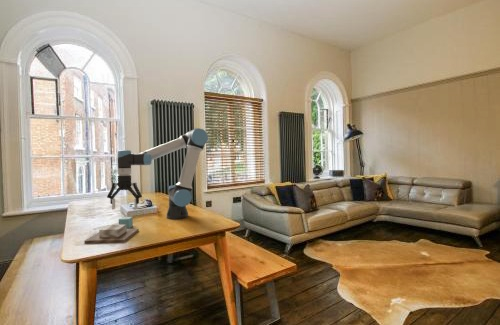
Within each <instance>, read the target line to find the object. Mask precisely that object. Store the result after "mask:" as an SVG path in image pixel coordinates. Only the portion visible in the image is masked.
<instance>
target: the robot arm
mask: <svg viewBox="0 0 500 325" xmlns="http://www.w3.org/2000/svg"><path fill="white" fill-rule="evenodd" d="M208 139H209V134H208V133H207V131H206V130H205V129H203V128H199V127H196V128H193V129H191V130H189V131H187V132H186V133H184V134H182V135H180V136H179V137H178V138H176V139H173V140H170V141H168V142H165V143H163V144H159V145H158V146H155V147H152V148H150V149H146V150H144V151H142V152H137V153H136V152H135V153H133V152H132V150H129V149H119V150H118V151H117V182H112V186H111V188H110V191H109V192H108V194H107V195H106V197H107V199H110V200H109V202H110V204H111V210H112V211H113V210H115V209H116V198H115V197H116V196H117V195H118V194H119V192H120V191H129V192H130V194H131V195H133V197H134V210H137V209H138V204H139V203H140V198H142V197H143V195H142V193H141V191H140V189H139V188H138V185H137V184H138V183H137V182H132V166H150V165H151V164H152V162H153V160H156V159H158V158H161V157H163V156H166V155H168V154H170V153H171V154H172V153H173V152H176V151H178V150H181V149H183V148H185V149H187V151H186V154H185V158H184V162H183V164H182V165H183V166H182V169H181V172H180V176H179V179H178V182H177V183H175V185H169V186H168V208H167V212H166V218H167V219H168V220H181V218H182V219H186V218H188V217H189V212H188V209H187V206H188V205H190V203H191V201H192V198H193V197H192V192H193V187H192V183H193V179H194V176H195V172H196V170H197V166H198V165H197V164H198V161H199V158H200V154H201V152H202V151H204V149H205V145H206V144H207V142H208ZM116 187H117V188H116ZM134 190H135V191H134ZM185 217H186V218H185Z"/></svg>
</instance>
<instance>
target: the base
mask: <svg viewBox="0 0 500 325" xmlns="http://www.w3.org/2000/svg"><path fill="white" fill-rule="evenodd" d="M138 232H140V230H139V228H129V229H126V224H123V225H119V224H107V225H106V226H104V227H102V228H100V229H99V232H97V233H96V234H93V235H92V236H90V237H88V238H87V239H85V240H84V241H83V242H84V245H85V244H86V245H87V244H120V243H123V244H124V243H126V242H127V241H129V240H130V238H132V237H134V236H135V235H136V234H137V233H138Z"/></svg>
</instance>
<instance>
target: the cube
mask: <svg viewBox="0 0 500 325" xmlns="http://www.w3.org/2000/svg"><path fill="white" fill-rule="evenodd" d="M133 220H134V219H133V216H122V217H120V218H119V219H118V225H123V224H126V229H132V227H133V226H134V225H133V224H134V222H133Z"/></svg>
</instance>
